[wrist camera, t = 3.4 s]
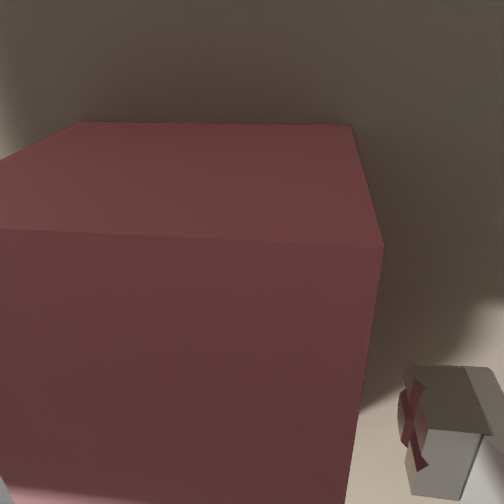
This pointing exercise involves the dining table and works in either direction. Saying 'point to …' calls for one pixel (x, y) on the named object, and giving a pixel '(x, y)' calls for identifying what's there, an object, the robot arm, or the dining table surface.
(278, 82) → the dining table surface
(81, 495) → the card box
